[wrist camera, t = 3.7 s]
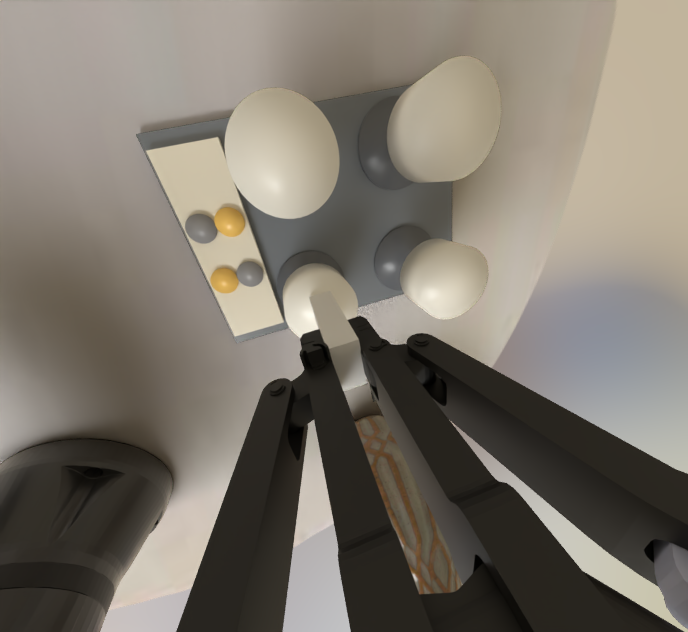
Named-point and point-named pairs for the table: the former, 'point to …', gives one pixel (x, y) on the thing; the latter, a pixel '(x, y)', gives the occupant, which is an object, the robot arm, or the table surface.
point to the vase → (408, 510)
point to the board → (306, 232)
